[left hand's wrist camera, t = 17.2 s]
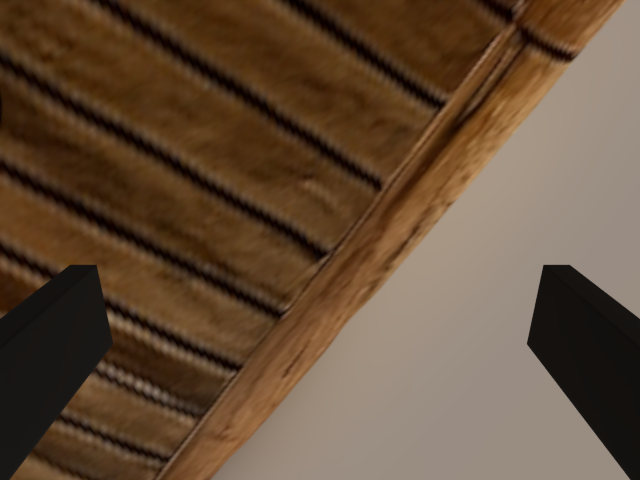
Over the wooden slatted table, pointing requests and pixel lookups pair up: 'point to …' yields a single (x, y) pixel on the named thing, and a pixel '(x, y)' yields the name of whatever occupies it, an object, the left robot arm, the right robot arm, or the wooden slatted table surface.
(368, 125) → the wooden slatted table surface
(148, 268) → the wooden slatted table surface
